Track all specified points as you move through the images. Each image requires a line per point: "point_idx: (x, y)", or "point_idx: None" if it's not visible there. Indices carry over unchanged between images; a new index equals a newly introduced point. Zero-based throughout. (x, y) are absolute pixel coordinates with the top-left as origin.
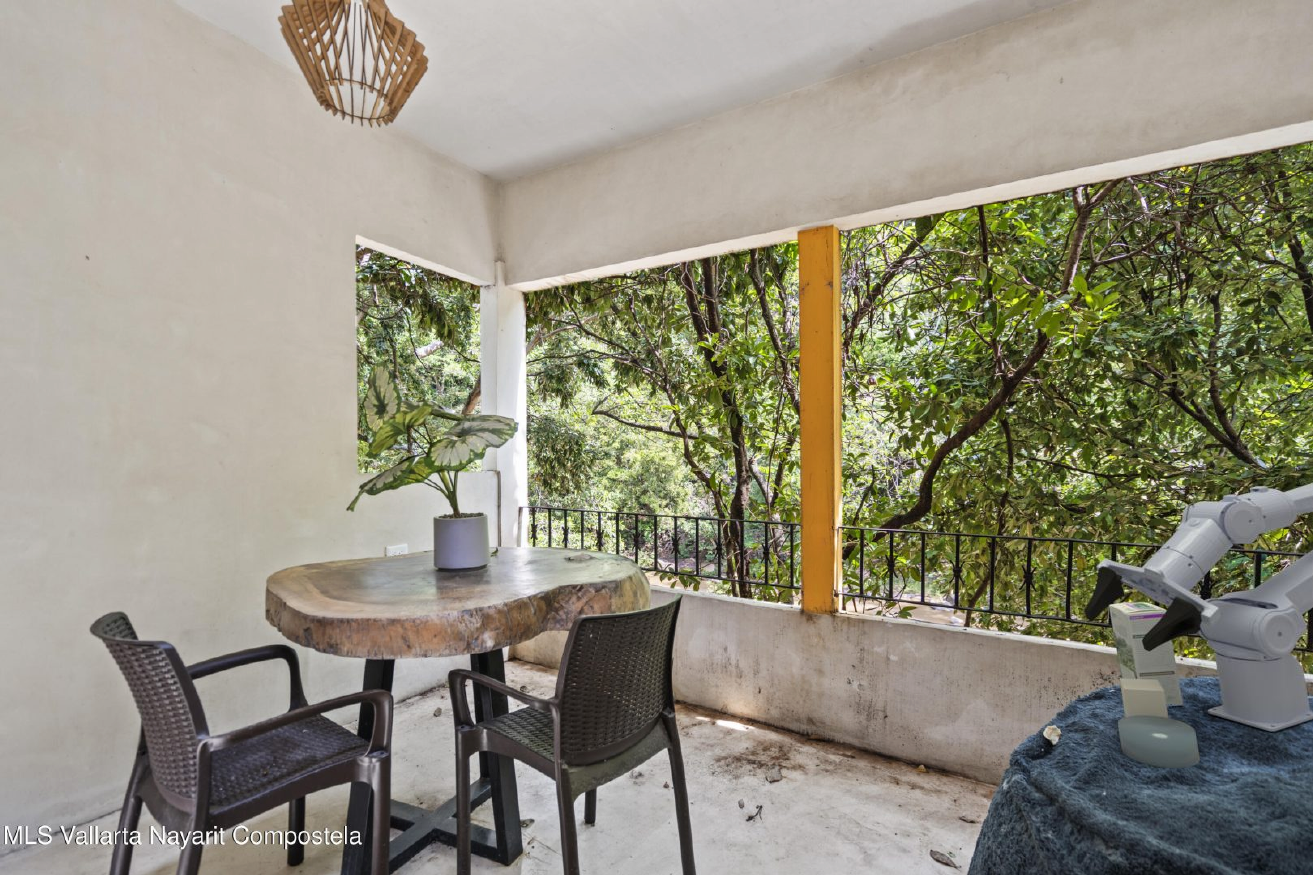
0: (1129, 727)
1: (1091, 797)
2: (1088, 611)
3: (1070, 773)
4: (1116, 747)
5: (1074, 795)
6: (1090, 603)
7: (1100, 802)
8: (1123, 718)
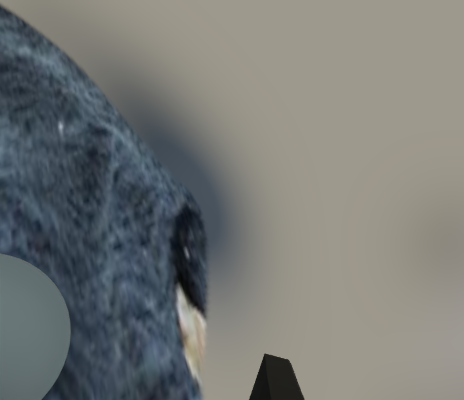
0: (40, 303)
1: (75, 108)
2: (269, 358)
3: (121, 176)
4: None
5: (99, 107)
6: (291, 389)
7: (60, 96)
8: (61, 363)
